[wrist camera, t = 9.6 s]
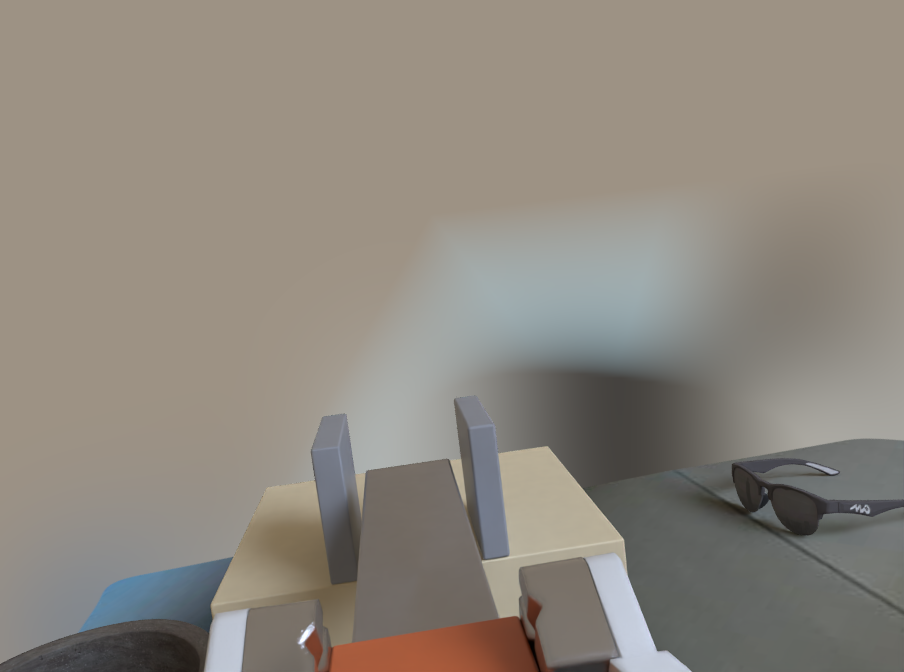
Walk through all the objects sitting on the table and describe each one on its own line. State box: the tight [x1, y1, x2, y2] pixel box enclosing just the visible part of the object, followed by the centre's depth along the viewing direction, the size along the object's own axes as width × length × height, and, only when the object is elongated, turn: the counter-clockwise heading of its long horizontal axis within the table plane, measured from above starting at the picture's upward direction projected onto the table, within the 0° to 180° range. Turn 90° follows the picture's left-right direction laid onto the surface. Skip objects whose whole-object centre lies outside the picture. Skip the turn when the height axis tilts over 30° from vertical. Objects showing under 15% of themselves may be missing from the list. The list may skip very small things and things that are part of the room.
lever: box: [329, 459, 539, 672], centre depth 14 cm, size 14×3×2 cm, turn 6°
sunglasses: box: [732, 458, 904, 535], centre depth 80 cm, size 16×17×5 cm
